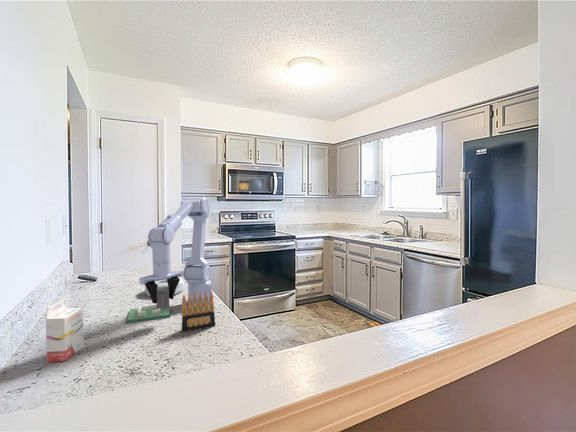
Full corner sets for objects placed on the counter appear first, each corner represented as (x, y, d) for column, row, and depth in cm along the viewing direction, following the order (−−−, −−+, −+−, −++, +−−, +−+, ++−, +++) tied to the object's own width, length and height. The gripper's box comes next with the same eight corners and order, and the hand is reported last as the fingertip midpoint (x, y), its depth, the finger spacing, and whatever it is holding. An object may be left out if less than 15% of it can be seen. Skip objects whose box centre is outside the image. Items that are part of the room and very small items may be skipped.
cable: (173, 285, 156) (173, 273, 156) (192, 291, 144) (191, 279, 144) (138, 293, 143) (138, 280, 143) (155, 300, 131) (155, 287, 131)
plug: (169, 303, 108) (168, 286, 107) (169, 308, 103) (168, 290, 103) (157, 305, 106) (156, 288, 106) (156, 309, 102) (156, 292, 101)
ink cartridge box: (66, 361, 81) (63, 307, 80) (46, 362, 81) (43, 308, 80) (84, 346, 90) (82, 297, 89) (67, 347, 89) (64, 297, 88)
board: (169, 306, 123) (169, 300, 123) (169, 317, 112) (169, 310, 112) (130, 311, 118) (130, 305, 118) (126, 323, 107) (126, 316, 106)
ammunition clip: (182, 332, 99) (181, 295, 98) (181, 329, 101) (180, 294, 100) (215, 326, 103) (214, 291, 103) (214, 324, 105) (213, 289, 105)
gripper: (176, 257, 112) (177, 293, 113) (135, 263, 102) (136, 303, 102) (185, 259, 108) (186, 297, 108) (143, 266, 97) (145, 308, 98)
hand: (162, 300), depth 105 cm, fingers closed on plug, 5 cm apart
